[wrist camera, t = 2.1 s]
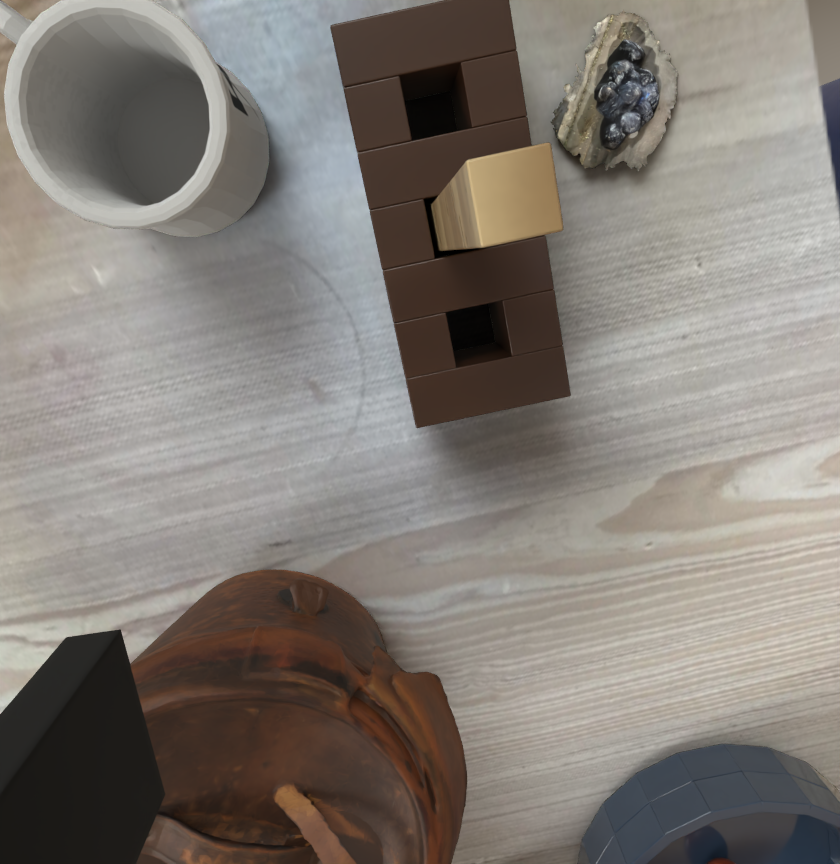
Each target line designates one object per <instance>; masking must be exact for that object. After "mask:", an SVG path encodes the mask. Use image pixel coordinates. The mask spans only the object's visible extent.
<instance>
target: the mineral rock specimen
mask: <svg viewBox="0 0 840 864" xmlns="http://www.w3.org/2000/svg"><path fill="white" fill-rule="evenodd" d="M594 29H595V32H596V36H593V35H592V38H593V41H592V43H590V44H589V45H588V48H587V49H585V57H586V64H585V65H586V68H584V69H585V71H582V72H581V71H580V69H579V67H578V66H577V64H576V66H577V72H578V73H579V75H578V77H576V76H575V78H576V79H577V81H575V82H574V83H573V87H571V86H570V84H566V85H565V86H564V87H563V88H565V92H567V93H568V95H567V97H565V99H563V102H562V103H560V107H559V106H558V109H555V111H554V114H555V118H554V120H552V122H551V123H552V125H554V127H555V128H553V130H555V135H556V138H557V137H558V139H560V142H562V145H563V146H564V148H565V149H567V151H570V153H572V155H573V156H575V155H578V153H580V154H581V158H580V163H581V162H582V163H581V164H582V165H584V168H589V167H591V168H596V166H598V165H599V164H601V163H604V164H605V167H606V168H605V169H606V171H607V169H608V167H610V168H614V167H615V164H617V163H619V162H620V161H625V162H626V163H627V165H628V166H629V167H630V168H631V169H632V167H635V168H637V171H639V169H640V167H642V165H641V164H644V167H645V166H646V165H647V157H646V156H648V154H652V153H653V150H655V148H656V146H657V144H659V142H660V140H662V139H661V137H663V133H665V131H666V128H665V124H664V123H666V121H667V118H669V119H671V116H670V115H671V112H670V109H672V108H674V106H673V105H675V103H676V98H677V92H676V90H677V88H676V86H677V81H676V78H677V76H678V73H677V71H676V68H674V67H673V66H672V65H671V63H670V62H669V61H670V59H671V58H670V54H666V53H665V50H664V51H663V52H660V51H659V49H660V46H659V45H658V44H659V40H657V41H656V40H655V39H654V34H652V31H650V29H649V27H648V23H647V22H646V21H645V20H644V19H643V18H642V17H640V16H638V15H635V14H632V13H627V14H626V13H625V12H624V10H623V12H622V13H619V15H617V16H615V15H607V17H606V19H604V20H603V21H602V22H598V23H597V25H596V27H594ZM659 108H660V111H659ZM561 126H562V127H561Z"/></svg>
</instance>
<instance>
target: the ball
mask: <svg viewBox="0 0 840 864" xmlns="http://www.w3.org/2000/svg"><path fill="white" fill-rule="evenodd" d="M706 864H736V863H734V862H733V861H731V860H729V859H726V858H714V859H711V860H710V861H708V862H707V863H706Z"/></svg>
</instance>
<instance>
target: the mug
mask: <svg viewBox="0 0 840 864" xmlns="http://www.w3.org/2000/svg"><path fill="white" fill-rule="evenodd" d="M0 32H1V33H2V34H3V35H5V36H6V37H7V38H9V39H10V40H11V41H13V42H14V43H15V44H17V46H16V48H15V50H14V53H13V55H12V57H11V59H10V62H9V64H8V71H7V78H6V84H5V91H4V100H5V109H6V119H7V127H8V130H9V132H10V135H11V138H12V141H13V143H14V146H15V149H16V152H17V154H18V157H19V158H20V160H21V161H22V163H23V164H24V166H25V168H26V169H27V171H28V172H29V174H30V175H31V177H32V178H33V180H34V181H35V183H36V184H37V185H38V186H39V187H40V188H41V189H42V190H43V191H44V192H45V193H46V194H48V195H49V196H50V197H51V198H52V199H53V200H54V201H55V202H56V203H57V204H58V205H59V206H61V207H63V208H65V209H66V210H68V211H70V212H71V213H73V214H75V215H77V216H78V217H80V218H82V219H84V220H86V221H89V222H93V223H96V224H100V225H103V226H107V227H110V228H113V229H146V228H149V229H152V230H155V231H159V232H162V233H165V234H169V235H172V236H180V237H199V236H203V235H207V234H211V233H215V232H219V231H221V230H222V229H224V228H226V227H227V226H229V225H231V224H233V223H234V222H236V221H238V220H239V219H240V218H241V217H242V216H243V215H244V214H245V213H246V212H247V211H248V210H249V209H250V208H251V207H252V205H253V204H254V203H255V201H256V199H257V197H258V195H259V193H260V191H261V190H262V188H263V186H264V183H265V179H266V174H267V170H268V165H269V137H268V133H267V130H266V126H265V123H264V119H263V116H262V113H261V111H260V109H259V107H258V105H257V104H256V102H255V100H254V98H253V97H252V95H251V93H250V91H249V90H248V89H247V88H246V87H245V86H244V85H243V84H242V83H241V81H240V80H239V79H238V78H237V77H236V76H235V75H234V74H233V73H232V72H231V71H229V70H227V69H226V68H224V67H223V66H221V65H220V64H218V63H217V62H215V61H214V59H213V57H212V55H211V54H210V52H209V50H208V48H207V46H206V45H205V43H204V42H203V41H202V40H201V39H200V38H199V37H198V36H197V35H196V34H195V33H194V31H193V30H192V29H191V28H190V27H189V26H188V25H187V24H186V23H185V22H184V21H183V20H182V19H181V18H179V17H178V16H176V15H175V14H173V13H171V12H170V11H168V10H167V9H165V8H164V7H162V6H161V5H159V4H157V3H156V2H154V1H151V0H61V1H60V2H58V3H56V4H55V5H53V6H52V7H50V8H48V9H47V10H45V11H44V12H42V13H41V14H39V16H38V17H37V18H36V19H35V20H34V21H31V20H29V19H26V18H25V17H23V16H22V15H21V14H19V13H18V12H17V11H15V10H14V9H13V8H11V7H10V6H8V5H7V4H6V3H4V2H3V1H1V0H0Z"/></svg>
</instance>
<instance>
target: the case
mask: <svg viewBox="0 0 840 864" xmlns="http://www.w3.org/2000/svg"><path fill="white" fill-rule="evenodd" d="M130 666H131V670H132V673H133V677H134V681H135V684H136V688H137V692H138V695H139V699H140V703H141V706H142V710H143V714H144V717H145V721H146V725H147V728H148V732H149V736H150V739H151V743H152V747H153V751H154V754H155V758H156V762H157V765H158V769H159V773H160V776H161V780H162V784H163V787H164V791H165V797H164V799H163V801H162V804H161V806H160V808H159V811H158V813H157V815H156V818H155V820H154V822H153V825H152V827H151V830H150V832H149V834H148V837H147V839H146V841H145V844H144V846H143V848H142V851H141V853H140V855H139V858H138V860H137V863H136V864H451V862H452V859H453V855H454V851H455V847H456V844H457V841H458V838H459V833H460V829H461V823H462V817H463V812H464V807H465V802H466V789H467V771H466V763H465V757H464V751H463V746H462V741H461V738H460V735H459V731H458V728H457V725H456V722H455V718H454V716H453V714H452V711H451V709H450V706H449V704H448V701H447V696H446V694H445V692H444V690H443V686H442V684H441V681H440V678H439V677H438V676H437V675H435V674H432V673H429V672H418V673H407V672H405V671H404V670H402V669H401V668H400V667H399V666H398V665H397V664H396V663H395V661H394V660H393V659H392V658H391V657H390V656H389V655H388V654H387V652H386V650H385V647H384V643H383V639H382V636H381V633H380V631H379V628H378V626H377V624H376V623H375V621H374V620H373V618H372V617H371V615H370V614H369V613H368V611H367V610H366V609H365V608H364V607H363V606H362V605H361V604H360V603H359V602H358V601H357V600H356V599H355V598H353V597H352V596H351V595H349V594H348V593H347V592H345V591H343V590H342V589H340V588H339V587H337V586H335V585H333V584H331V583H329V582H327V581H325V580H323V579H320V578H318V577H315V576H312V575H308V574H304V573H301V572H295V571H288V570H261V571H254V572H249V573H244V574H240V575H237V576H235V577H232V578H230V579H228V580H226V581H224V582H222V583H220V584H219V585H217V586H216V587H214V588H213V589H212V590H210V591H209V592H207V593H206V594H205V595H204V596H203V597H202V598H200V599H199V600H198V601H197V602H196V603H195V604H194V605H193V606H192V607H191V608H189V609H188V610H187V611H186V612H185V613H184V614H183V615H182V616H181V617H180V618H179V619H178V620H177V621H176V622H174V623H173V624H172V625H171V626H170V627H169V628H168V629H167V630H166V631H165V632H164V633H162V634H161V635H160V636H159V637H158V638H157V639H156V640H155V641H154V642H153V643H152V644H151V645H150V646H149V647H148V648H147V649H146V650H145V651H144V652H143V653H141V654H140V655H139V656H138V657H137V658H136V659H135V660H134V661H133V662H132V663H131V664H130Z"/></svg>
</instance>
